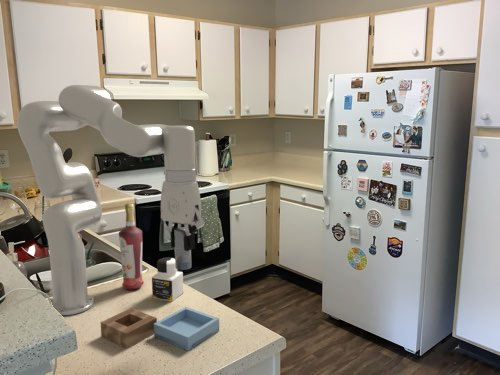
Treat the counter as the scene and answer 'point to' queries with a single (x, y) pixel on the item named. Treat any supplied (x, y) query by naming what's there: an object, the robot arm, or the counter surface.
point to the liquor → (131, 251)
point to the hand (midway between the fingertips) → (182, 247)
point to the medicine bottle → (167, 280)
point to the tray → (186, 328)
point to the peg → (181, 250)
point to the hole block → (128, 327)
